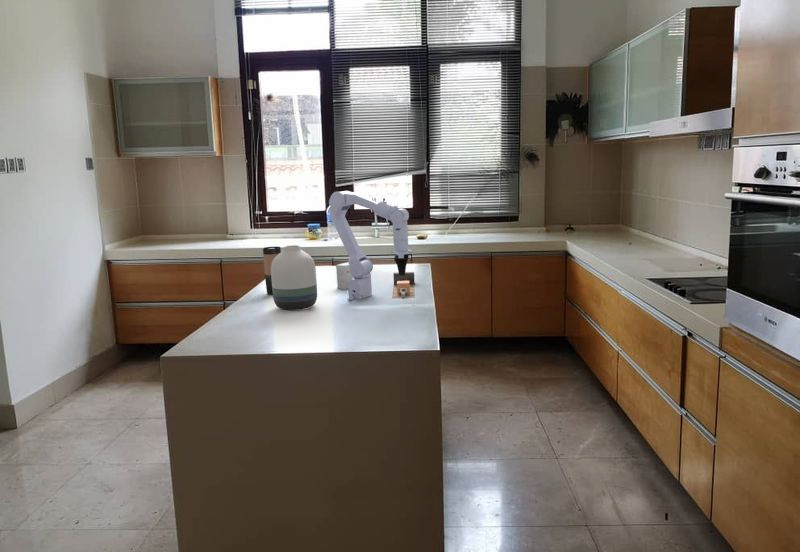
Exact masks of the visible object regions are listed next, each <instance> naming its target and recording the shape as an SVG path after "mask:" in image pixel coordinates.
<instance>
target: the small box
mask: <svg viewBox="0 0 800 552" xmlns="http://www.w3.org/2000/svg"><path fill="white" fill-rule="evenodd" d="M335 266H336V270H335V271H336V280H337V281H336V282H337V283H336V284H337V285H336V286H337V289H342V290H343V289H344V290H348V283H349V281H350V280H352V279H353V275H352V274H351V272H350V265H349V263H348V261H347V262H344V263H343V262H342V263H339V264H336V265H335Z"/></svg>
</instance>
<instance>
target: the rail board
mask: <svg viewBox="0 0 800 552" xmlns="http://www.w3.org/2000/svg"><path fill="white" fill-rule="evenodd" d="M397 281H409V285H410V294H407V288H402V289H400V294H398V295H397ZM415 282H416V281H415V271H407V272H406V271H405V275H399V272H393V289H392V295H391V299H392V300H393V299H395V300H396V299H413V298H414V299H415V297H416V294H415V291H416V290H415V289H416V288H415V287H416V286H415V284H416V283H415Z"/></svg>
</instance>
